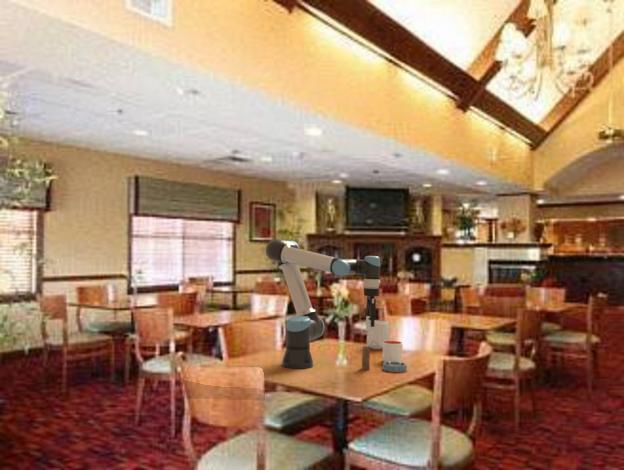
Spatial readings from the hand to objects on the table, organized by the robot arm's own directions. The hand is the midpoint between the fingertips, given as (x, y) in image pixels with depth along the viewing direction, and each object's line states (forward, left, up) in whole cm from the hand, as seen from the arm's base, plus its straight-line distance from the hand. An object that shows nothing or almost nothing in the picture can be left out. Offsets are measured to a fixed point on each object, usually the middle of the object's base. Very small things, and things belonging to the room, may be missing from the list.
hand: (370, 331), depth 285 cm
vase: (+10, +57, -18) cm, 61 cm away
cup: (+13, +16, -18) cm, 27 cm away
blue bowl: (+12, -3, -18) cm, 22 cm away
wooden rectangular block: (-2, -3, -18) cm, 18 cm away
